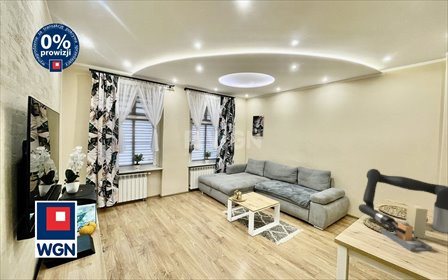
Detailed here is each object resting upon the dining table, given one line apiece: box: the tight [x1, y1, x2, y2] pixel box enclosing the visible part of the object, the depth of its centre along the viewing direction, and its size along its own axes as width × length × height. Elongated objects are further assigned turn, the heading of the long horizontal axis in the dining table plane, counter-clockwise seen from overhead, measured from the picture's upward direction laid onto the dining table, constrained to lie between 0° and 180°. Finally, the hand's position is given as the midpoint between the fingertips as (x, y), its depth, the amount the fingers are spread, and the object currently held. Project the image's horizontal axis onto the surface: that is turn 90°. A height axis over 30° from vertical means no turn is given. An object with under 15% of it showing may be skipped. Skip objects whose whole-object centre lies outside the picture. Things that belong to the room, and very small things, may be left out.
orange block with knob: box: [397, 221, 413, 241], centre depth 122 cm, size 5×5×11 cm
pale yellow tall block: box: [405, 203, 428, 239], centre depth 130 cm, size 8×7×21 cm
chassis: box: [380, 228, 433, 252], centre depth 123 cm, size 20×14×2 cm
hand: (409, 232), depth 120 cm, fingers closed on orange block with knob, 5 cm apart
